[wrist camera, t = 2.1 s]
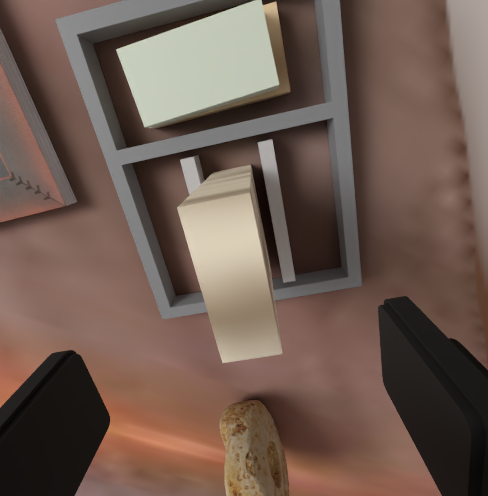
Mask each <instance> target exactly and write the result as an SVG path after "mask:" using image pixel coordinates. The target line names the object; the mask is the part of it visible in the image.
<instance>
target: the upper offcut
mask: <svg viewBox="0 0 488 496" xmlns="http://www.w3.org/2000/svg"><path fill="white" fill-rule="evenodd" d="M116 51H117V53H118V56H119V59H120V62H121V64H122V67H123V70H124V73H125V75H126V78H127V81H128V83H129V86H130V89H131V92H132V94H133V97H134V100H135V102H136V105H137V108H138V111H139V113H140V116H141V119H142V122H143V124H144V127H149V128H155V127H159V126H162V125H165V124H168V123H171V122H174V121H178V120H181V119H184V118H187V117H190V116H194V115H197V114H200V113H203V112H206V111H210V110H213V109H216V108H219V107H222V106H225V105H229V104H232V103H235V102H238V101H241V100H245V99H248V98H251V97H254V96H257V95H261V94H264V93H267V92H270V91H273V90H276V89H277V88H278V86H279V81H278V76H277V71H276V67H275V62H274V57H273V52H272V48H271V43H270V38H269V33H268V29H267V24H266V19H265V14H264V10H263V5H262V0H255V1H252V2H249V3H246V4H243V5H240V6H238V7H235V8H232V9H229V10H226V11H223V12H221V13H218V14H215V15H212V16H209V17H206V18H204V19H201V20H198V21H195V22H192V23H189V24H187V25H184V26H181V27H178V28H175V29H172V30H170V31H167V32H164V33H161V34H158V35H156V36H153V37H150V38H147V39H144V40H141V41H139V42H136V43H133V44H130V45H127V46H124V47H122V48H119V49H116Z"/></svg>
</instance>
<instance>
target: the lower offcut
mask: <svg viewBox="0 0 488 496" xmlns="http://www.w3.org/2000/svg"><path fill="white" fill-rule="evenodd" d="M263 10H264V14H265V19H266V24H267V29H268V33H269V38H270V43H271V48H272V52H273V57H274V62H275V67H276V71H277V76H278V81H279V86H278V88H277V89H276V90H273V91H270V92H267V93H264V94H261V95H257V96H254V97H251V98H248V99H245V100H241V101H238V102H235V103H232V104H229V105H225V106H222V107H219V108H216V109H213V110H210V111H206V112H203V113H200V114H197V115H194V116H190V117H187V118H184V119H181V120H178V121H174V122H171V123H168V124H165V125H162V126H159V127H155V128H151V129H157V128H161V127H165V126H168V125H172V124H176V123H180V122H184V121H187V120H191V119H195V118H199V117H203V116H206V115H210V114H214V113H218V112H222V111H225V110H229V109H233V108H237V107H240V106H244V105H248V104H252V103H256V102H259V101H263V100H267V99H271V98H275V97H278V96H282V95H286V94H289V92H290V91H291V90H290V84H289V78H288V72H287V66H286V59H285V53H284V47H283V41H282V35H281V28H280V22H279V16H278V10H277V4H276V2H273V3H269V4H266V5H263Z"/></svg>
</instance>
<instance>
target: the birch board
mask: <svg viewBox="0 0 488 496" xmlns="http://www.w3.org/2000/svg"><path fill="white" fill-rule="evenodd" d="M177 209H178V213H179V216H180V219H181V223H182V226H183V230H184V233H185V236H186V240H187V243H188V247H189V250H190V254H191V257H192V260H193V264H194V267H195V271H196V274H197V277H198V281H199V284H200V288H201V291H202V294H203V298H204V301H205V305H206V308H207V312H208V315H209V318H210V322H211V325H212V329H213V332H214V335H215V339H216V342H217V346H218V349H219V352H220V356H221V359H222V363H226V362H232V361H239V360H246V359H252V358H259V357H266V356H272V355H279V354H282V347H281V340H280V332H279V325H278V318H277V311H276V304H275V297H274V289H273V282H272V275H271V268H270V261H269V255H268V250H267V245H266V239H265V234H264V229H263V224H262V219H261V214H260V209H259V203H258V198H257V193H256V188H255V183H254V178H253V173H252V167H251V164H250V165H246V166H241V167H236V168H232V169H227V170H222V171H218V172H213V173H212V174H211V175H210V176H209V177H208V178H207V179H206V180H205V181H204V182H203V183H202V184H201V185H200V186H199V187H198V188H197V189H196V190H195V191H194V192H193V193H192V194H191V195H190V196H188V197H187V198H186V199H185V200H184V201H183V202H182V203H181V204H180V205H179V206H178V207H177Z"/></svg>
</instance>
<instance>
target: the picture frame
mask: <svg viewBox="0 0 488 496" xmlns="http://www.w3.org/2000/svg"><path fill="white" fill-rule="evenodd" d="M76 202H77V200H76V198H75V195H74V193H73V191H72V189H71V186H70V184H69V182H68V179H67V177H66V175H65V173H64V170H63V168H62V166H61V164H60V161H59V159H58V157H57V155H56V152H55V150H54V148H53V146H52V143H51V141H50V139H49V137H48V134H47V132H46V130H45V128H44V125H43V123H42V121H41V118H40V116H39V114H38V112H37V109H36V107H35V105H34V103H33V100H32V98H31V96H30V94H29V91H28V89H27V87H26V85H25V82H24V80H23V78H22V76H21V73H20V71H19V69H18V67H17V64H16V62H15V60H14V57H13V55H12V53H11V51H10V48H9V46H8V44H7V42H6V39H5V37H4V35H3V33H2V30H1V28H0V223H1V222H5V221H9V220H13V219H17V218H21V217H25V216H29V215H33V214H37V213H41V212H45V211H49V210H53V209H57V208H61V207H65V206H68V205H71V204H73V203H76Z"/></svg>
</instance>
